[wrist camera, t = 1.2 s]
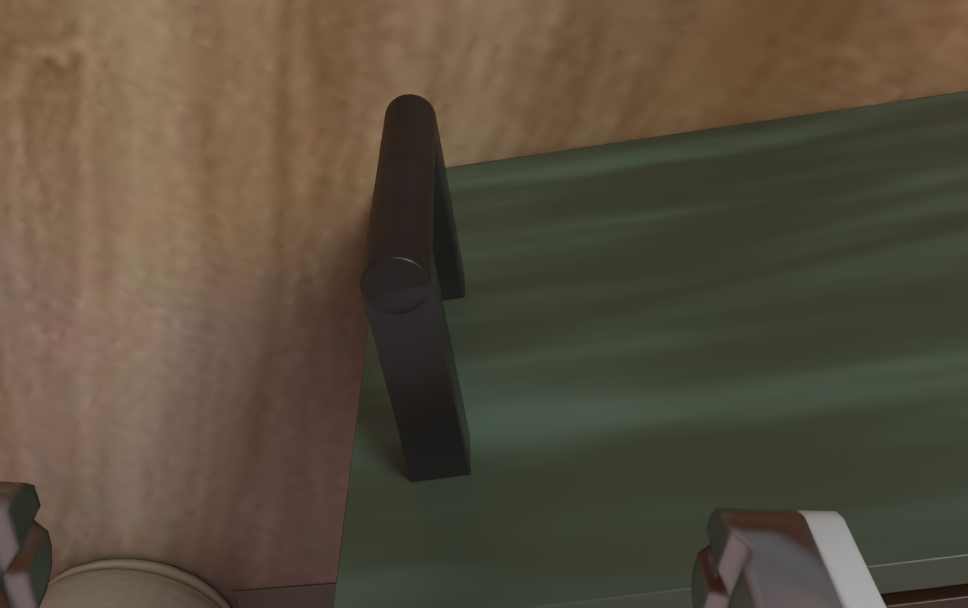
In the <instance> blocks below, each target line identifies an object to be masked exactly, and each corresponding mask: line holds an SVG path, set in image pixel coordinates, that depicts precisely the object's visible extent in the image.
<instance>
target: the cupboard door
mask: <svg viewBox="0 0 968 608" xmlns="http://www.w3.org/2000/svg"><path fill="white" fill-rule="evenodd" d="M360 288H361V292H362V297H363V301H364V305H365V309H366V313H367V316H368V320H369V325H368V333H367V341H366V349H365V357H364V365H363V373H362V381H361V389H360V397H359V405H358V413H357V421H356V429H355V437H354V445H353V453H352V461H351V469H350V477H349V485H348V493H347V501H346V509H345V517H344V525H343V533H342V541H341V549H340V557H339V565H338V573H337V581H336V589H335V597H334V605H333V608H693V602H692V594H691V589H692V571H693V567H694V564H695V560H696V557H697V553H698V552H699V551H701V550H702V549H703V548H705V547H706V546H708V545H709V544H710V541H709V538H708V534H707V531H706V527H707V524H708V521H709V518H710V515H711V514H712V513H713V512H714V510H715V509H716V508H747V509H786V510H793V511H796V510H809V511H836V512H837V513H838V514H840V515H841V516H842V517H843V518H844V520H845V522H846V524H847V527H848V529H849V531H850V533H851V535H852V537H853V539H854V541H855V543H856V545H857V547H858V549H859V551H860V553H861V556H862V558H863V560H864V562H865V564H866V566H867V568H868V570H869V572H870V574H871V576H872V578H873V580H874V582H875V585H876V587H877V589H878V591H879V593H880V594H885V593H893V592H902V591H910V590H918V589H927V588H935V587H943V586H952V585H960V584H968V91H966V92H959V93H952V94H946V95H939V96H932V97H925V98H918V99H911V100H905V101H898V102H891V103H884V104H877V105H871V106H864V107H857V108H850V109H843V110H837V111H830V112H823V113H816V114H809V115H803V116H796V117H789V118H782V119H775V120H769V121H762V122H755V123H748V124H741V125H735V126H728V127H721V128H714V129H707V130H701V131H694V132H687V133H680V134H673V135H666V136H660V137H653V138H646V139H639V140H632V141H626V142H619V143H612V144H605V145H598V146H592V147H585V148H578V149H571V150H564V151H558V152H551V153H544V154H537V155H530V156H524V157H517V158H510V159H503V160H496V161H490V162H483V163H476V164H469V165H462V166H456V167H449V168H445V164H444V159H443V153H442V148H441V142H440V137H439V131H438V126H437V121H436V115H435V111H434V109H433V107H432V106H431V104H430V103H429V102H428V101H427V100H426V99H424V98H422V97H420V96H417V95H413V94H407V95H402V96H399V97H397V98H396V99H394V100H393V101H392V102H391V103H390V104H389V106H388V107H387V110H386V113H385V120H384V127H383V133H382V140H381V147H380V154H379V160H378V167H377V174H376V181H375V187H374V194H373V201H372V208H371V214H370V221H369V228H368V234H367V241H366V248H365V255H364V261H363V268H362V275H361V282H360Z"/></svg>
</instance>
